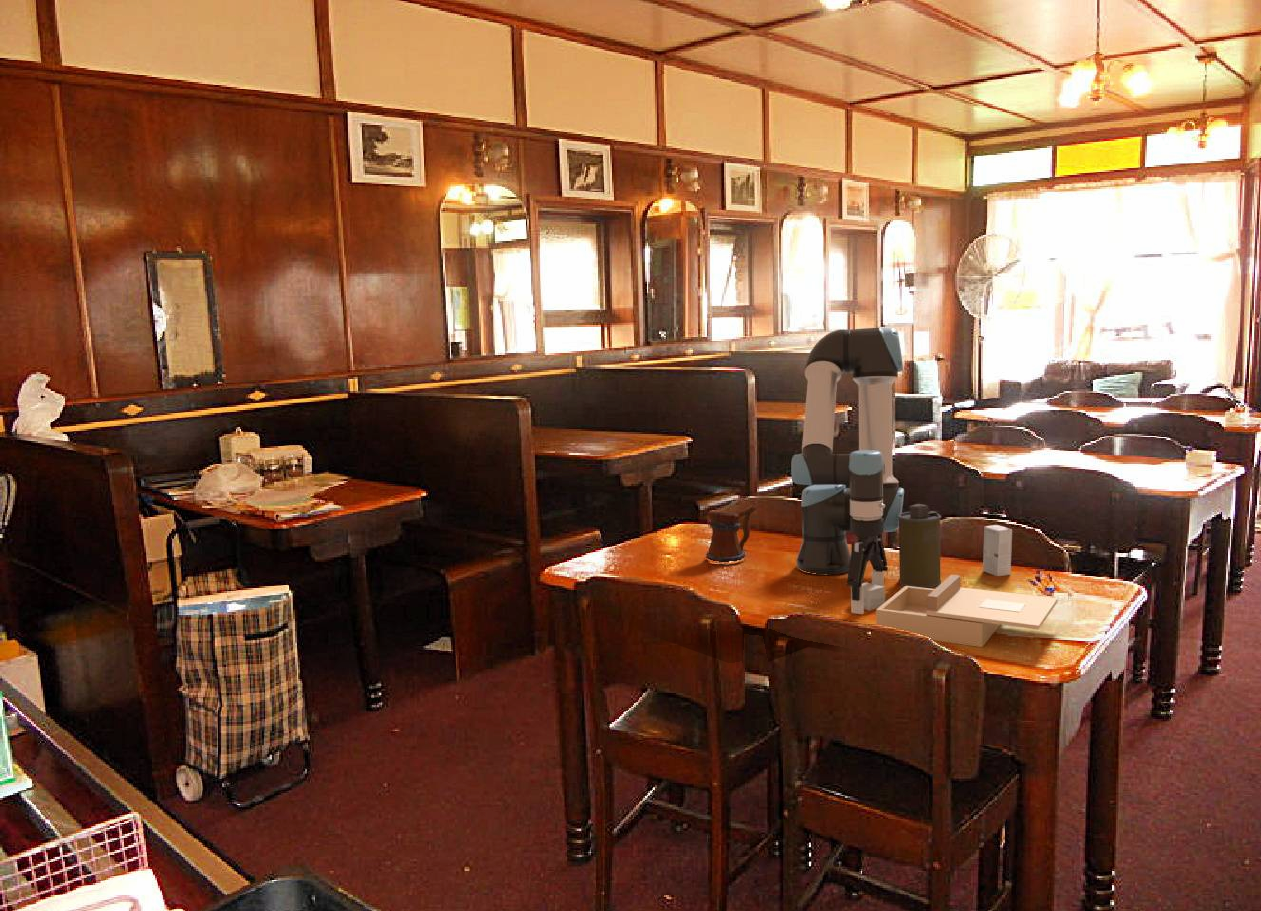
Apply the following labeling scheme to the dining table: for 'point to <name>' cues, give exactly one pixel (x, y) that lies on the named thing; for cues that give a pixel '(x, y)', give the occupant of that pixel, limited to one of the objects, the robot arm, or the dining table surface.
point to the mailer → (930, 619)
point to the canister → (919, 547)
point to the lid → (988, 605)
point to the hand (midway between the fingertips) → (868, 605)
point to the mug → (728, 535)
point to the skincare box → (997, 550)
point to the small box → (873, 596)
